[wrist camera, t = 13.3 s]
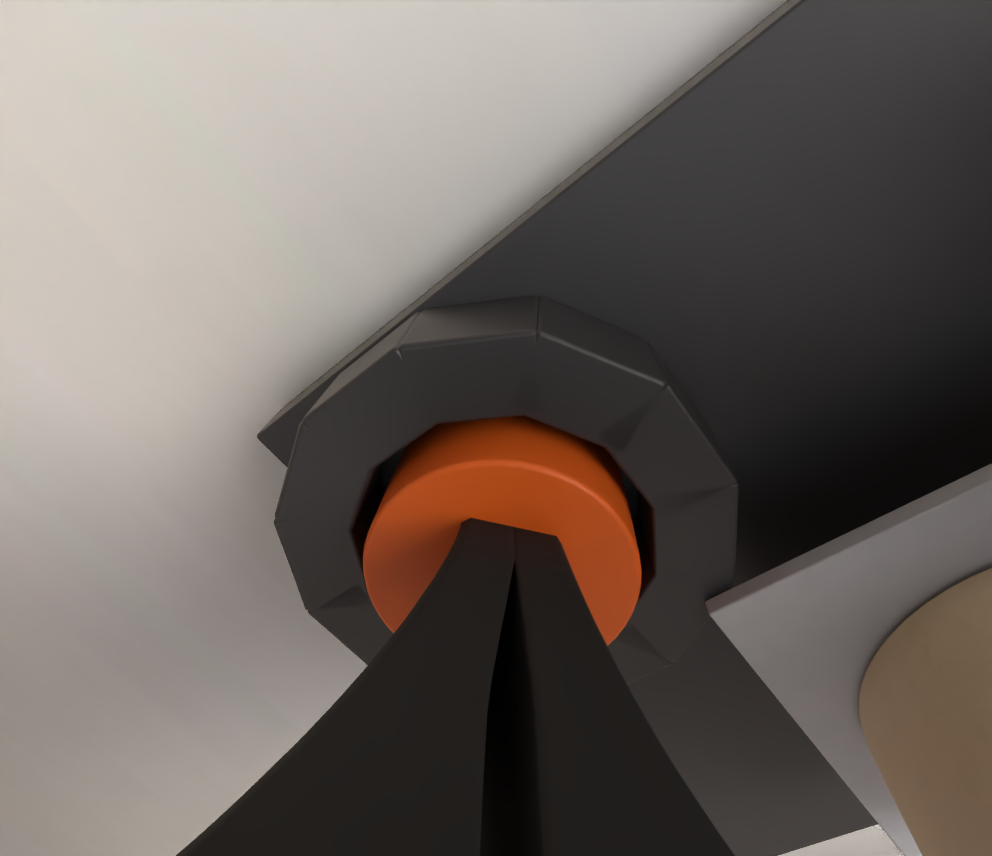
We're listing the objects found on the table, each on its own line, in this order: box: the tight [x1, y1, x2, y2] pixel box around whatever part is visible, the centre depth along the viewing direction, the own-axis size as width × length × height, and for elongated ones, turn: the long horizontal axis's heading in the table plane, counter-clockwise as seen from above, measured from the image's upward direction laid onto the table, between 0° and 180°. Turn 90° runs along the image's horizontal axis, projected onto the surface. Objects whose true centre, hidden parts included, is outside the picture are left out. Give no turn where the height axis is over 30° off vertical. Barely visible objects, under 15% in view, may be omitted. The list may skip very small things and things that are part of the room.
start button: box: [363, 415, 642, 646], centre depth 9 cm, size 4×4×2 cm
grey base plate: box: [257, 0, 992, 856], centre depth 11 cm, size 16×15×3 cm
